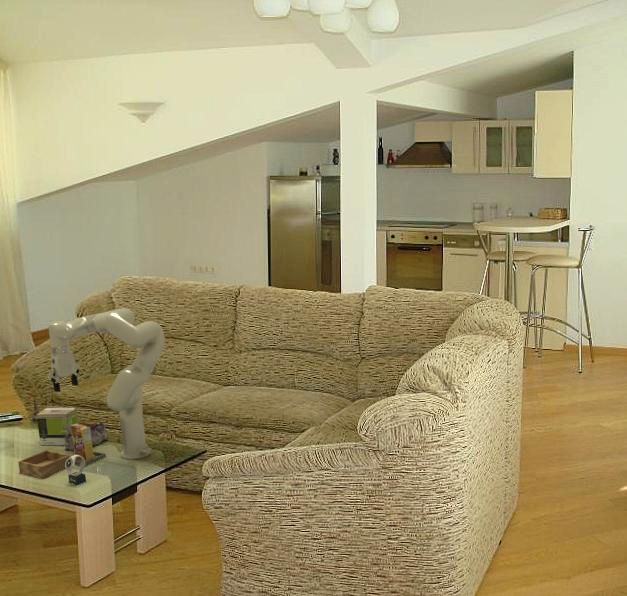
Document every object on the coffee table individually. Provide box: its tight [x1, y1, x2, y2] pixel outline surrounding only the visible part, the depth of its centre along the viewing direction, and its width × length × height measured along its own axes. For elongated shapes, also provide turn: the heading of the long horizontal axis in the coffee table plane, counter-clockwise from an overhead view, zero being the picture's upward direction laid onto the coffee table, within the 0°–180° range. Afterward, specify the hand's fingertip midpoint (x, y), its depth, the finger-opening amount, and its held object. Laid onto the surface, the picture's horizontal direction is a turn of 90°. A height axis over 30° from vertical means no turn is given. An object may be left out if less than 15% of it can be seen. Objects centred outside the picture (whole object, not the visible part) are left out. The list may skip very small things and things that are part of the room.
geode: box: [63, 421, 108, 451], centre depth 415 cm, size 20×12×10 cm, turn 142°
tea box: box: [36, 407, 79, 446], centre depth 421 cm, size 15×10×15 cm, turn 78°
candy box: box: [71, 422, 95, 462], centre depth 396 cm, size 9×4×15 cm, turn 47°
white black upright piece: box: [64, 454, 87, 486], centre depth 372 cm, size 6×8×11 cm
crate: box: [18, 449, 71, 480], centre depth 388 cm, size 15×15×5 cm
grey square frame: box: [70, 450, 107, 467], centre depth 397 cm, size 13×13×2 cm
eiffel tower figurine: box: [21, 396, 40, 423], centre depth 455 cm, size 15×10×13 cm
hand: (66, 388), depth 405 cm, fingers open, 9 cm apart
